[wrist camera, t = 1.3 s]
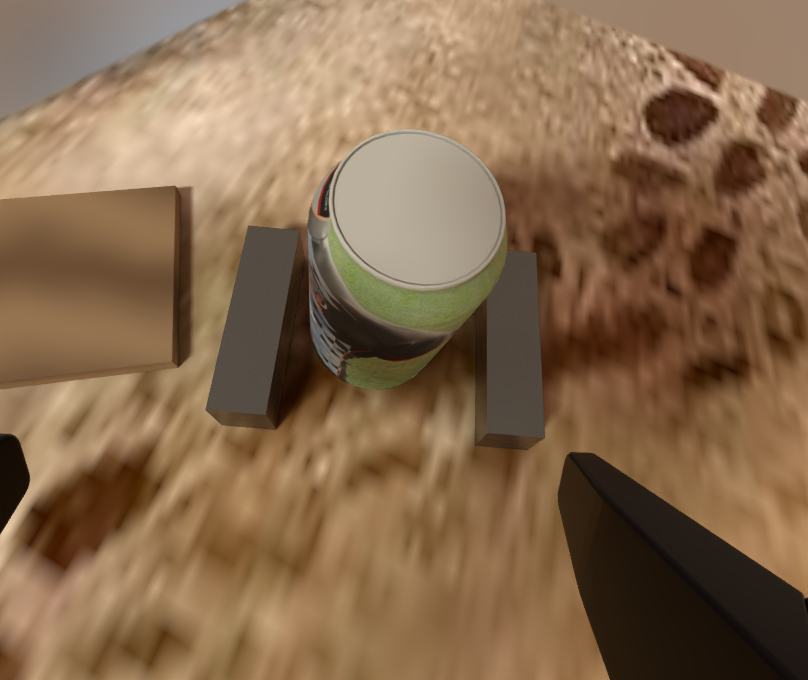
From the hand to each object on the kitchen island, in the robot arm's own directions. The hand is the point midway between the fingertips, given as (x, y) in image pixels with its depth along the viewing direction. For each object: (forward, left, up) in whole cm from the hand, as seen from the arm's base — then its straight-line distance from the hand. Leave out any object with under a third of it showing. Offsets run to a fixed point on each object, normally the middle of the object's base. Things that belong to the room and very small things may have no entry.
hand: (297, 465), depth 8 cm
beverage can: (+6, -5, -14) cm, 16 cm away
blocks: (+6, -5, -14) cm, 16 cm away
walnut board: (+16, +7, -14) cm, 22 cm away
